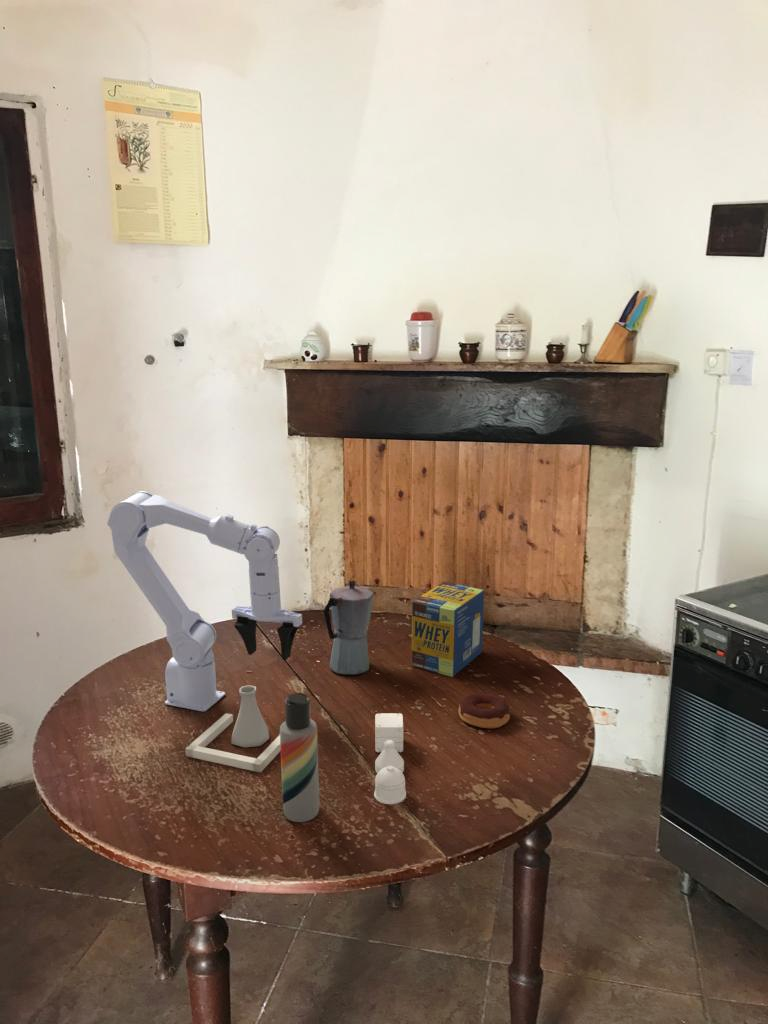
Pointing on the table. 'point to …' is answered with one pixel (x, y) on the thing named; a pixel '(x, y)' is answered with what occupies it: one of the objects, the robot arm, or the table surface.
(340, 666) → the moka pot
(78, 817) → the table surface
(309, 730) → the lotion bottle
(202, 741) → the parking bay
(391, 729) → the container set
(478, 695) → the donut
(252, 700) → the flask
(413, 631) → the protein box
